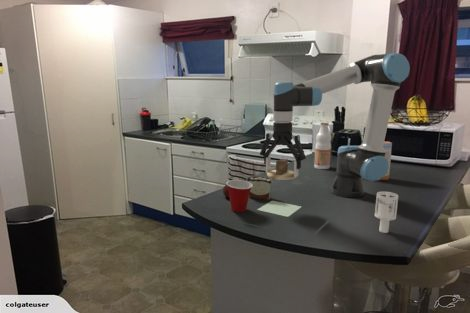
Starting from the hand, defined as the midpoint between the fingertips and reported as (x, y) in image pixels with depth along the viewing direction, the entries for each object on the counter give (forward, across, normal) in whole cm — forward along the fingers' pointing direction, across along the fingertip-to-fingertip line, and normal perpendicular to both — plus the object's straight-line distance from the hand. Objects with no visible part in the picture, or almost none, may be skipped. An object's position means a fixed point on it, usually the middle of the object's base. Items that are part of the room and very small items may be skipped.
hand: (281, 174), depth 149 cm
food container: (+15, +14, -8) cm, 23 cm away
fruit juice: (+16, +12, -82) cm, 85 cm away
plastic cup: (+15, +13, +12) cm, 23 cm away
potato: (+15, +25, -2) cm, 30 cm away
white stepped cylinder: (+16, -41, 0) cm, 44 cm away
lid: (+1, 0, 0) cm, 1 cm away
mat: (+15, 0, 0) cm, 15 cm away
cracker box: (+17, -22, -74) cm, 79 cm away
